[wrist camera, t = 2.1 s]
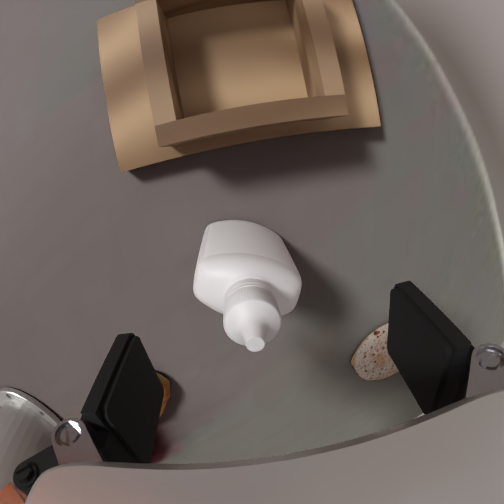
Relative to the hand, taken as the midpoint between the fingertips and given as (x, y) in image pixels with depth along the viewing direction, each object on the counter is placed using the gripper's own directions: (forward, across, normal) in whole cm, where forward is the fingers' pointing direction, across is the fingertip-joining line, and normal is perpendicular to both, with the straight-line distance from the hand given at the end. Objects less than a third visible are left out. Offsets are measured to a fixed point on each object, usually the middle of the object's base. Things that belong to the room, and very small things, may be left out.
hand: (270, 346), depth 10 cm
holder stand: (+13, -1, -13) cm, 18 cm away
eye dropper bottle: (+13, +1, 0) cm, 13 cm away
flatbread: (+13, -11, +14) cm, 23 cm away
